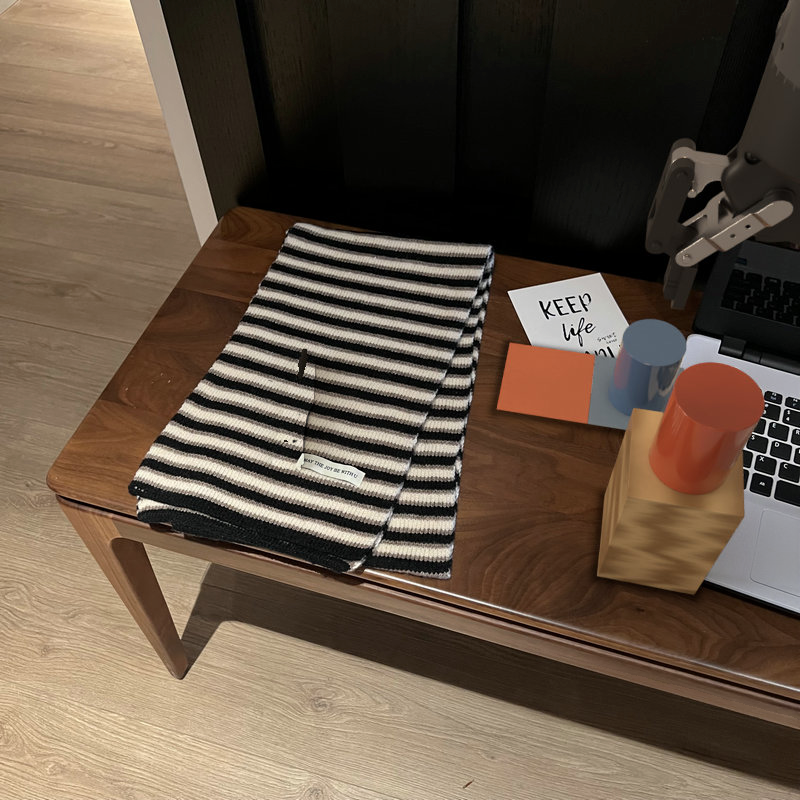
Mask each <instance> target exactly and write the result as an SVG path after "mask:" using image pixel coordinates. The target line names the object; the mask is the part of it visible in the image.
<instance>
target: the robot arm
mask: <svg viewBox="0 0 800 800" xmlns="http://www.w3.org/2000/svg"><path fill="white" fill-rule="evenodd" d="M787 2H788V3H787V4H786V8H785V10H784V11H783V12H782V13H781V15H780V17H779V20H778V23H777V26H776V28H775V38H774V43H773V45H772V48H771V51H770V54H769V56H768V59H767V63H766V66H765V69H764V72H763V74H762V77H761V80H760V83H759V86H758V89H757V92H756V94H755V97H754V101H753V103H752V106H751V109H750V111H749V115H748V118H747V120H746V123H745V127H744V129H743V131H742V135H741V138H740V139H739V141H738V142H737V144H736V145H735V146H734V147H733V148H732V149H731V150H730V151H729V152H728V153H727V154H726V155H724V154H718V153H711V152H704V151H698V150H696V149H697V146H696V145H697V144H696V143H695V141H693V140H692V139H691V138H685V137H684V138H679V139H677V140H676V141H674V142H673V144H672V146H671V149H670V151H669V154H668V157H667V160H666V163H665V166H664V168H663V171H662V174H661V178H660V180H659V183H658V187H657V188H656V193H655V195H654V198H653V201H652V204H651V207H650V210H649V212H648V216H647V222H646V234H645V243H644V245H645V246H644V248H645V250H646V251H647V252H648V253H650V254H653V255H661V254H663V253H664V254H666V255H667V256H669V260H668V263H667V267H666V270H665V273H664V277H663V290H662V291H663V292H662V293H663V297H664V300H668V301H669V300H670V301H671V303H670V308H671V309H673V310H678V311H679V310H681V311H684V310H685V307H686V304H687V302H688V298H689V296H690V293H691V290H692V287H693V284H694V281H695V278H696V276H697V273H698V271H699V270H698V269H699V262H701V261H702V260H704V259H705V258H707V257H709V256H711V255H712V254H714V253H715V252H717V251H720V252H727V251H729V250H730V249H732V248H734V247H736V246H737V245H739V244H740V243H742V242H744V241H746V240H747V239H749V238H751V237H752V236H753V237H755V242H764V243H781V242H789V243H791V244H794V245H797V246H800V0H788V1H787ZM716 181H719V182H720V185H721V188H722V191H721V192H718V194H717V195H715V196H713V197H712V198H710V200H709V201H708V202H707V204H706V206H705V207H704V209H702V210H701V211H699V212H698V213H696V214H695V215H694V216H692V217H691V218H689V219H687V220H686V221H684V222H683V223H680V222H678V221H679V219H680V216H681V215H682V214H681V213H682V212H683V208H684V205H685V203H686V200H687V198H689V199H693V198H696V197H697V196H698V194H699V193H701V192H702V191H703V190H704V188H705V187H706V186H707V185H708V184H710V183H711V182H712V183H713V182H716ZM734 214H735V215H736V216H735V217H734ZM733 217H734V218H733Z"/></svg>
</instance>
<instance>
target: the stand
mask: <svg viewBox="0 0 800 800" xmlns="http://www.w3.org/2000/svg"><path fill="white" fill-rule="evenodd" d="M662 414H663V412H657V411H650V410H644V409H638V408H633V411H632V414H631V417H630V420H629V423H628V426H627V429H626V430H625V432H624V436H623V438H622V442H621V445H620V448H619V451H618V454H617V456H616V460H615V463H614V466H613V468H612V472H611V475H610V478H609V481H608V484H607V487H606V490H605V493H604V499H603V510H602V521H601V522H602V523H601V531H600V532H601V533H600V534H601V535H600V542H599V543H600V544H599V552H598V562H597V573H596V576H597V577H600V578H606V579H610V580H615V581H621V582H625V583H632V584H636V585H640V586H647V587H653V588H658V589H662V590H667V591H673V592H677V593H683V594H688V595H693V596H694V595H695V594H696V593H697V592H698V590H699V588H700V586H701V585H702V584H703V583H704V580H705V579H706V578H707V576H708V575H709V573H710V571H711V569H712V568H713V567H714V565H715V563H716V562H717V560H718V559H719V557H720V556H721V554H722V553H723V551H724V549H725V548H726V546H727V545H728V543H729V542H730V540H731V538H732V537H733V535H734V534H735V532H736V531H737V529H738V528H739V527H740V524H741V523H742V521H743V520H744V518H745V513H746V512H745V488H744V487H745V483H744V482H745V481H744V452H743V450H744V449H743V450H742V452H741V454H740V456H739V457H738V459H737V461H736V463H735V465H734V466H733V468H732V470H731V472H730V474H729V475H728V477H727V479H726V481H725V482H724V483H723V485H722V486H720V487H719V488H718V489H716V490H715V491H712V492H710V493H707V494H701V495H691V494H685V493H681V492H678V491H676V490H673V489H672V488H670V487H668V486H667V485H665V484H664V483H663V482H661V481H660V480H659V479H658V478H657V476H656V475H655V474H654V472H653V470H652V468H651V466H650V463H649V456H648V455H649V449H650V446H651V443H652V440H653V438H654V435H655V433H656V430H657V427H658V425H659V422H660V420H661V417H662Z"/></svg>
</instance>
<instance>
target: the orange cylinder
mask: <svg viewBox="0 0 800 800" xmlns="http://www.w3.org/2000/svg"><path fill="white" fill-rule="evenodd" d="M765 407H766V403H765V395H764V393H763V391H762V389H761V387H760V386H759V385H758V383H757V382H756V381H755V380H754V379H753V378H752V377H751V376H750V375H749V374H748V373H746V372H744V371H743V370H741V369H739V368H737V367H735V366H733V365H730V364H728V363H727V364H726V363H723V362H714V361H713V362H712V361H707V362H706V361H704V362H698V363H695V364H692V365H690V366H688V367H686V368H684V371H682V372H681V373H680V374H679V376H678V377H677V379H676V381H675V383H674V386H673V388H672V391H671V394H670V396H669V399H668V401H667V404H666V407H665V409H664V412H663V414H662V417H661V420H660V422H659V425H658V427H657V430H656V433H655V435H654V438H653V440H652V443H651V446H650V449H649V455H648V456H649V463H650V466H651V468H652V470H653V472H654V474H655V475H656V476H657V478H658V479H659V480H660V481H661V482H663V483H664V484H665V485H667V486H668V487H670V488H672V489H673V490H676V491H678V492H681V493H685V494H691V495H701V494H707V493H710V492H712V491H715V490H716V489H718V488H719V487H720V486H722V485H723V483H724V482H725V481H726V479H727V477H728V475H729V474H730V472H731V470H732V468H733V466H734V465H735V463H736V461H737V459H738V457H739V456H740V454H741V452H742V450H744V449H745V447H746V445H747V443H748V442H749V440H750V438H751V436H752V435H753V432H754V431H755V429H756V428H757V425H758V423H759V422H760V420H761V418H762V416H763V415H764V412H765Z"/></svg>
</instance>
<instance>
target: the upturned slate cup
mask: <svg viewBox="0 0 800 800" xmlns="http://www.w3.org/2000/svg"><path fill="white" fill-rule="evenodd" d="M687 348H688V347H687V340H686V338H685V336H684V334H683V333H682V332H681V331H680V329H678V328H677V327H676V326H675V325H674V324H673V325H672V324H671V323H669V322H667V321H664V320H662V319H661V320H660V319H655V318H646V319H640V320H637V321H634V322H632V323H631V324H629V325H628V326H627V327H626V328H625V330H624V331H623V334H622V336H621V341H620V345H619V348H618V351H617V355H616V357H615V358H616V362H615V366H614V369H613V373H612V376H611V380H610V384H609V387H608V396H609V399H610V401H611V403H612V405H613V406H614V407H615V408H616V409H617V410H618V411H620V412H621V413H623V414H625V415H628V416H631V414H632V411H633V408H638V409H644V410H650V411H657V412H661V411H662V410H663V408H664V407H665V405H666V402H667V399H668V397H669V394H670V392H671V389H672V386H673V384H674V381H675V379H676V376H677V373H678V371H679V368H680V367H681V366H682V362H683V360H684V358H685V355H686V353H687Z"/></svg>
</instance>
